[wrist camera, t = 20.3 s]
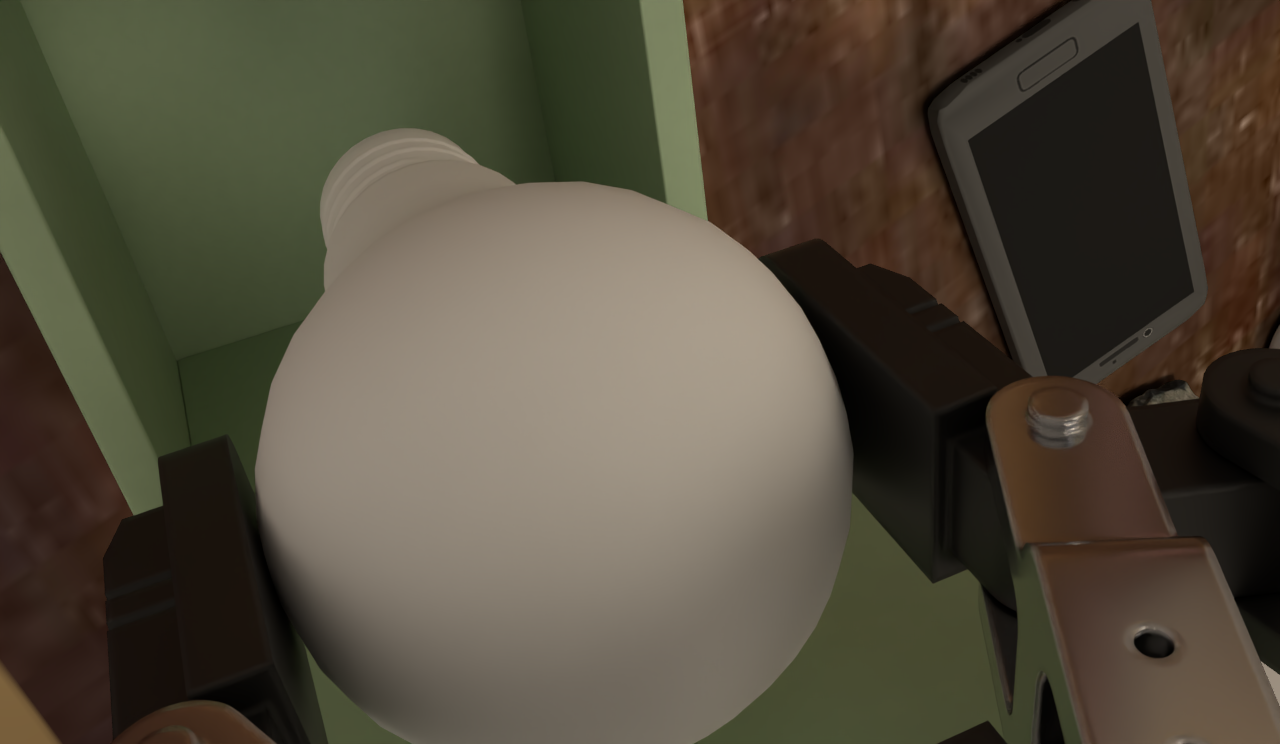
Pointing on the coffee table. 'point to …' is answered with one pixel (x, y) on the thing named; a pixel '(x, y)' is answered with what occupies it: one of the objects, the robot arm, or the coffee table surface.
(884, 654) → the chest lid
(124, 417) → the chest
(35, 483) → the coffee table surface
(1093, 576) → the robot arm
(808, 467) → the lightbulb
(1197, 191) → the coffee table surface
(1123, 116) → the cell phone
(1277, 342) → the pill bottle
